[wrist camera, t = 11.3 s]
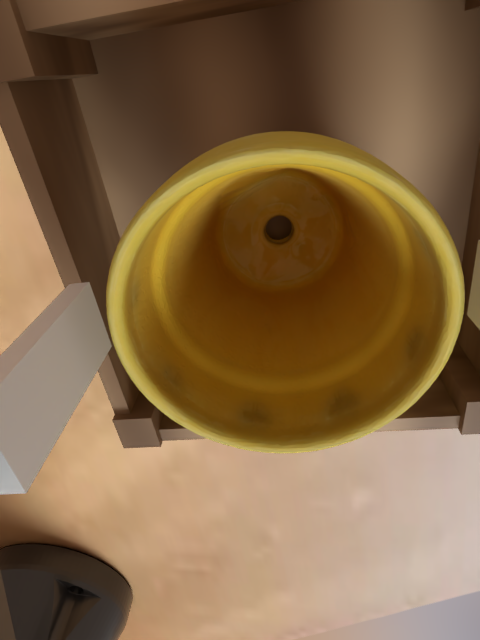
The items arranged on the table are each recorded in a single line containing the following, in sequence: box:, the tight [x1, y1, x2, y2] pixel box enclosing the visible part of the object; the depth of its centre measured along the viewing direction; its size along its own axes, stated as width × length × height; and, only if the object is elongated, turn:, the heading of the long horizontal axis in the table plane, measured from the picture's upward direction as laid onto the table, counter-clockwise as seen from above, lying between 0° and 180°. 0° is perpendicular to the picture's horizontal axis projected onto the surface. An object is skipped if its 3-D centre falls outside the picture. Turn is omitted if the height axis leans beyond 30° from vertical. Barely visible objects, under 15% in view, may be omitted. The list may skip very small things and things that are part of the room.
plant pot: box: [106, 131, 465, 453], centre depth 16 cm, size 10×10×10 cm
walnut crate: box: [0, 0, 480, 448], centre depth 18 cm, size 19×19×6 cm
